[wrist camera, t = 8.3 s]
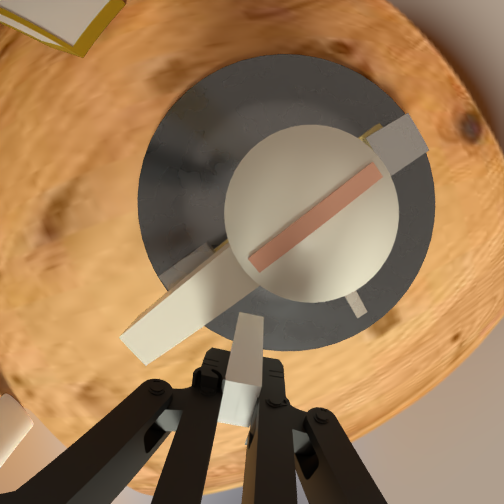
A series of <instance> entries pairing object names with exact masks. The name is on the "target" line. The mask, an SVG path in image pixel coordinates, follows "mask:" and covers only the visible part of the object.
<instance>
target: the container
mask: <svg viewBox="0 0 504 504" xmlns="http://www.w3.org/2000/svg"><path fill="white" fill-rule="evenodd" d="M32 427H33V422H32V420H31V418H30V416H29V415H28V413H27V412H26V411H25V409H24V408H23V407H22V406H21V405H20V404H19V403H18V402H17V401H16V400H15V399H14V398H13V397H12V396H10V395H9V394H7V393H5V394H3V395H2V396H1V397H0V467H1V466H2V465H3V463H4V462H5V461H6V459H7V458H8V457H9V456H10V454H11V453H12V452H13V450H14V449H15V448H16V446H17V445H18V444H19V443H20V442H21V440H22V439H23V438H24V437H25V435H26V434H27V433H28V432H29V430H30V429H31V428H32Z"/></svg>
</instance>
